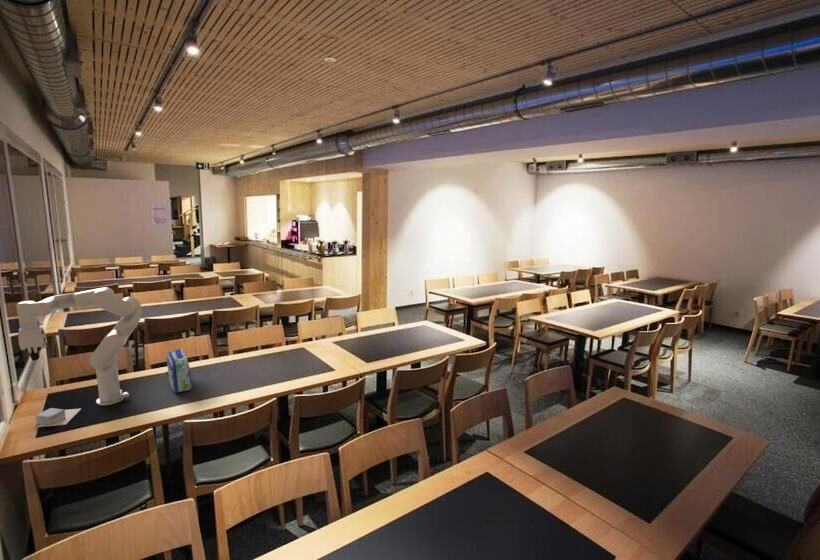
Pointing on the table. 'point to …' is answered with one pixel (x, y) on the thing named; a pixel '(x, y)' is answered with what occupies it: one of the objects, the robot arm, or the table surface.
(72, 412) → the mat
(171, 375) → the lunch box
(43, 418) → the medicine box
